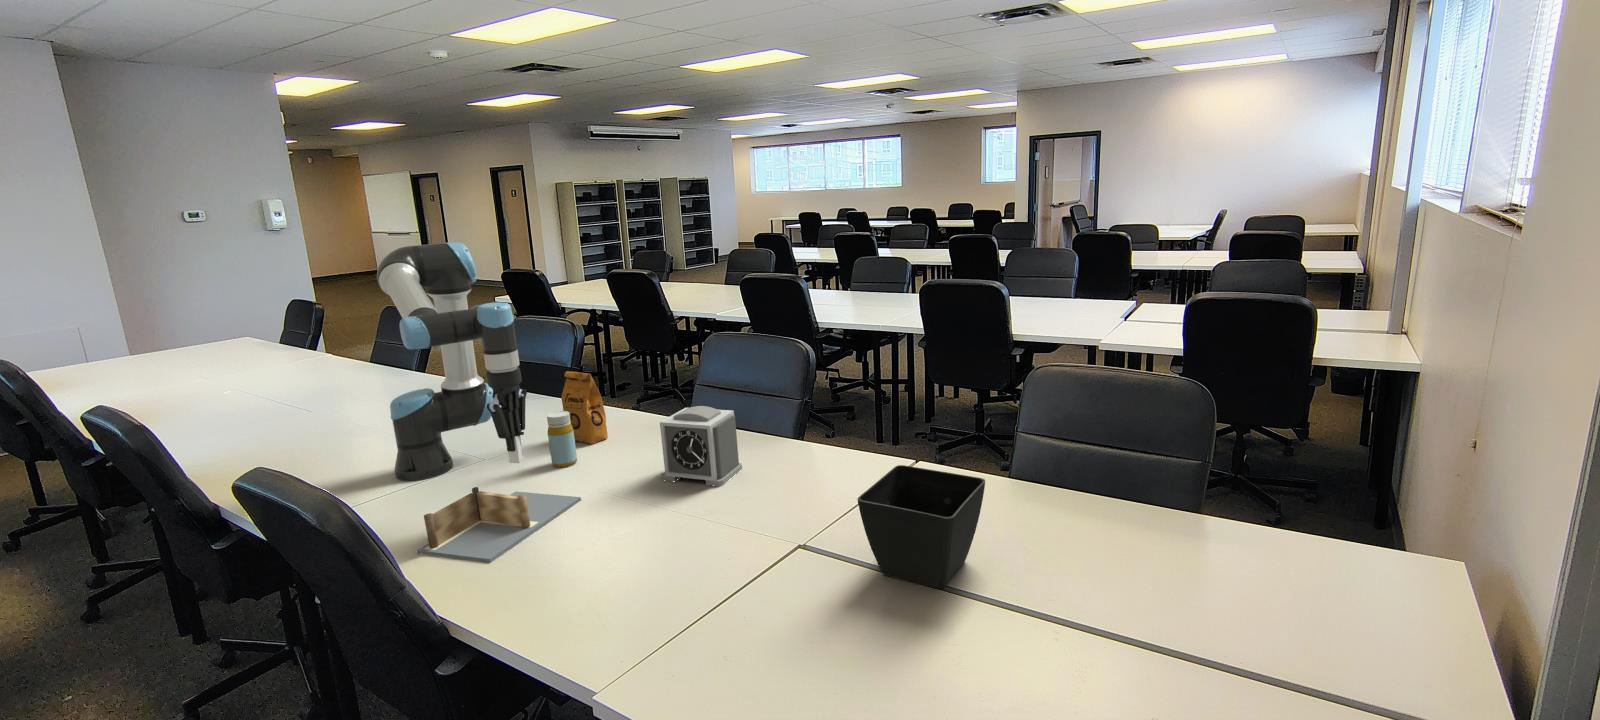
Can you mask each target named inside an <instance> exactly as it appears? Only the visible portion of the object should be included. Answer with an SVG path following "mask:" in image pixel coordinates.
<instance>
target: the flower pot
mask: <svg viewBox="0 0 1600 720" xmlns="http://www.w3.org/2000/svg"><path fill="white" fill-rule="evenodd" d="M985 487H986V479H984V478H982V477H976V476H971V475H966V474H960V473H959V474H958V473H953V472H947V471H946V472H945V471H941V470H934V469H928V468H923V467H917V466H909V465H903V464H902V465H901V464H898V465H895V466H894V467H893V468H891V470H889V471H888V472H887V473H886V474H885V475H883V476H882V477H881V478H880V479H878V480H877V481H876V482H875V483H874V484H873V485H872V486H870V487H869V488H868V489H867V490H865V491H864V492H863V493H862V494H860V495H859V497H857V505H858V509H859V513H860V517H861V522H862V525H863V529H864V532H865V535H866V538H867V541H868V544H869V547H870V549H871V552H872V554H873V556H874V558H875V560H876V562H877V565H878V567H879V569H880V571H881V573H882V574H883V576H886V577H887V576H888V577H891V578H893V579H898V580H902V581H906V582H911V583H914V584H918V585H922V586H926V587H929V588H934V589H938V590H940V589H945V588H946V586H947V585H948V583H950V581H951V580H952V578H953V577H954V576H955V575H956V574H957V572H958V571H959V569H961V567H962V566H963V565H964V563H965V562H966V560H967V557H968V555H969V552H970V550H971V546H972V543H973V540H974V537H975V533H976V532H977V531H976V530H977V527H978V523H979V519H980V515H981V509H982V505H983V500H984V499H983V498H984V493H985Z"/></svg>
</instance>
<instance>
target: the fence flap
mask: <svg viewBox="0 0 1600 720" xmlns="http://www.w3.org/2000/svg"><path fill="white" fill-rule="evenodd" d="M510 495H511V494H502V493H495V492H488V491H482V490H481V491H480V490H479V492H478V493H477V499H478V505H479V511H480V517H481V520H486V521H492V522H498V523H504V524H510V525H516V526H522V527H523V528H526V527H529V526H530V519H529V512H528V506H527V499H526V495H519V496H518V497H517V496H510Z"/></svg>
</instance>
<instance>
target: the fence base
mask: <svg viewBox="0 0 1600 720" xmlns="http://www.w3.org/2000/svg"><path fill="white" fill-rule="evenodd" d="M478 492H480V489H479V487H478V486H474V487H472V488H471V492H470V493H468V494H467V495H465V496H463V497H461V498H459V499H457V500H456V501H454V502H452V503H450V504H448V505H447V506H444V507H443V508H441V509H439V510H438V511H435V512H434V513H431V512H430V513H429V512H428V513H426V514H424V515H423V520H424V525H425V530H426V535H427V541H428V543H429V547H430V549H433V548H437V547H438V546H439V545H440V544H442V543H444V542H445V541H447V540H449V539H450V538H452V537H454V536H455V535H457V534H459V533H460V532H462V531H463V530H465V529H467V528H468V527H470V526H472V525H473V524H475V523H477V522H478V521H480V520H481V517H480V511H479V505H478V499H477V493H478Z"/></svg>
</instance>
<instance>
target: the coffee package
mask: <svg viewBox="0 0 1600 720" xmlns="http://www.w3.org/2000/svg"><path fill="white" fill-rule="evenodd" d="M564 377H565V378H566V379H565V382H564V386H563V389H562V393H561V397H560V398H561V403H562V411H568V412H569V413H570V422H571V425H572V427H573V431H574V439H575V441H578V442H580V443H584V444H590V445H594V444H596V442H597V443H599V442H598V441H600V442H602V441H605V440H607V439H608V438H609V437H608V436H609V435H608V429H607V416H606V412H605V407H604V404H603V399H602V395H601V393H600V391H599V388H598V387H597V385H596V382H595V380H594V379H593V377H592V374H591V373H586V372H585V373H584V372H578V371H567V370H566V371H565V373H564ZM607 437H608V438H607ZM606 438H607V439H606ZM604 439H605V440H604ZM601 440H602V441H601Z"/></svg>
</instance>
